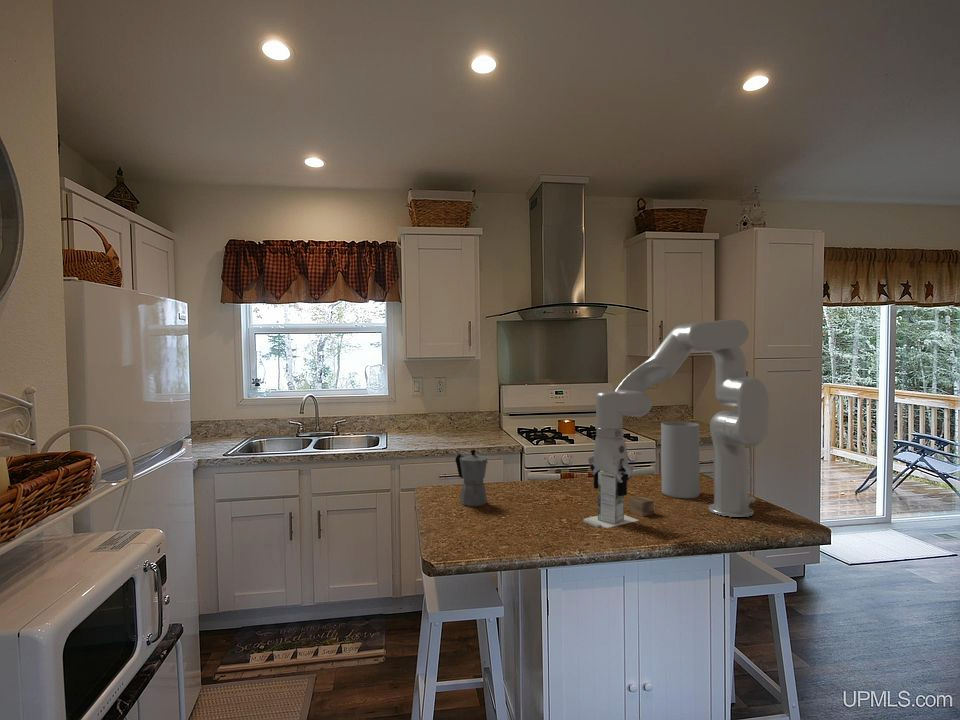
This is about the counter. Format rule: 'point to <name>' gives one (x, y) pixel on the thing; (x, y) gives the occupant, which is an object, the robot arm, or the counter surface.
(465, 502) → the coffeepot
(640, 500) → the walnut block
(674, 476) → the cylinder vase
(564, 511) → the counter surface
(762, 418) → the robot arm
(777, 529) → the counter surface
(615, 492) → the syrup box
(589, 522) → the clipboard
